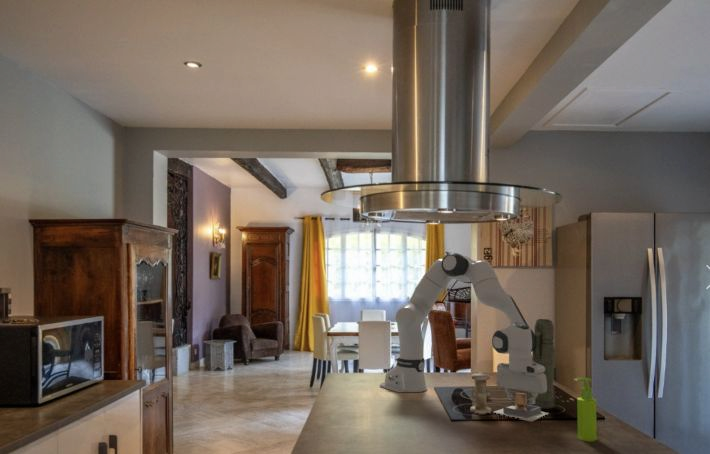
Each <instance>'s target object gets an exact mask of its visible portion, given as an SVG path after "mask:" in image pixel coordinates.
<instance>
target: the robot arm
mask: <svg viewBox="0 0 710 454" xmlns="http://www.w3.org/2000/svg"><path fill="white" fill-rule="evenodd" d="M452 280H456V281H459V282H462V283H463V284H464V283H465V284H471V285H472V288H473V291H474V294H475V296H476V298H477V300H478V301H479V302H480V303H482V304H483V305H485V306H487V307H491V308H494V309H497V310H499V311H501V313H504V314H505V315H506V316H507V317H506V318H507V319H508V321H509V322H510V324H509V325H508V326H507V327H505V328H503V329H502V328H501V329H498V330H496V331H495V332H494V333H493V336H492V341H491V344H492V347H493V349H494V351H496V353H499V354H501V355H503V354H504V355H506V354H508V355H509V356H508V363H505V362H500V363H498V364H497V366H496V381H495V383H496V385H497V386H498V387H501V388H504V392H505V394H506V395H507V396H506V397H507V398H506V399H507V400H509V401H512V400H514V395H513V394H512V392H511V391H510V390H511V389H512V390H518V391H524V392H529V393H531V392H532V395H533V397H532V398H531V397H530V398H529V405H531V404H535V399H536V397H537V396H538V393H539V394H543V393H545V392H546V391H547V379H546V375H545V374H544V373H543V372H544V371H545V367H544V366H542V365H540V364H538V363H536V362H534V361H532V351H533V350H534V348H535V346H536V337H535V334H534V333H535V331H534V330H532V329H531V327H530V326H529V325H528V323H527V321H526V319H525V318H524V316H523V314H522V312H521V311H520V308H519V306H518V305H517V303H516V302H515V300H514V298H513V297H512V296H511V295H510V294H509V293H508V292H506V290H505V289H504V288H503V286H502V285H501V283H500V281H499V278H498V275H497V274H496V272H495V270H494V268H493V267H492V265H491V264H490V263H489V262H488V261H486V260H477V261H475V260H473V259H471V258H470V257H468V256H466V255H465V256H464V255H462V254H460V253H457V252H449V253H447V254H445V256H444V257H443V258H438V259H436V260H435V261H434V262H433V263H432V264H431V266H430V267H429V268H428V269H427V270H426V272H425V274H423V276H422V278H420V280H419V282H418V284H417V285H416V287H415V288H414V291H413V293H412V295H411V296H410V299H409V300H408V302H407V303H406V304H404V305H401V307H400V308H398V310H396V314H395V322H396V326H397V333H398V340H399V341H398V343H399V356H398V358H394V361H395V362H396V364H395V365H394V367H392V368H391V369H390V370H388V371H387V372H386V373H385V378H384V382H382V383H380V384H379V387H381V388H383V389H387V390H389V391H393V392H396V393H420V392H425V391H427V390H428V387H427V383H426V377H425V365H426V364H425V357H424V351H425V350H424V349H425V348H424V344H425V343H424V339H423V333H422V324H424V322H425V321H426V319H427V317H428V316H429V314H430V312H432V309H433V307H434V305H435V303H436V302H437V300H438V299H439V297H440V296H441V295H442V293H443V292H444V290H445V289H446V287H447V285H448V284H449V282H450V281H452Z"/></svg>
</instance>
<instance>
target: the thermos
mask: <svg viewBox="0 0 710 454" xmlns="http://www.w3.org/2000/svg"><path fill="white" fill-rule="evenodd" d="M554 333H555V327H554V323H553V320H551V319H546V318H539V319H537V320H536V322H535V324H534V334H535V337H536V346H535V348H534V350H533V351H532V352H531V354H532V361H534V362H536V363H538V364H540V365H542V366H544V367H545V371H544V372H543V373H544V374H545V375H546V379H547V391H546V392H545V393H543V394H539V393H538V396H537V397H536V399H535V404H530V405H532V406H537V407H541V409H549V410H550V409H551V410H552V409H553V408H554V402H555V388H554V365H555V361H556V359H555V358H556V351H555V350H556V349H555V346H554V339H555V338H554V337H555V335H554ZM532 397H533V395H532V392H530V399H531V398H532Z"/></svg>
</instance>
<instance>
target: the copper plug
mask: <svg viewBox="0 0 710 454" xmlns="http://www.w3.org/2000/svg"><path fill="white" fill-rule="evenodd" d="M527 395H528V394H527V393H524V392H515V393H514V406H515V409H516V410H521V411H527V405H528V401H527V400H528V398H527V397H528V396H527Z"/></svg>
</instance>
